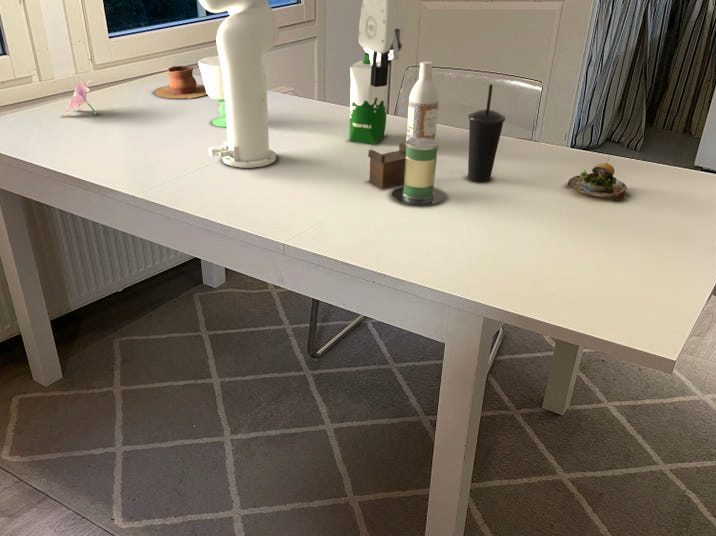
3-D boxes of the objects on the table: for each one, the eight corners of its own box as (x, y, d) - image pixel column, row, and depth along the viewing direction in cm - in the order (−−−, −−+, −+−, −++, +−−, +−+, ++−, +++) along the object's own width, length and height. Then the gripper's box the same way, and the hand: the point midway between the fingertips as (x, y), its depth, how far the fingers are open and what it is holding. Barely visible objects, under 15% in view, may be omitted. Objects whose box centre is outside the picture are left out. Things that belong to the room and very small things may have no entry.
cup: (264, 120, 196) (261, 59, 187) (233, 132, 187) (228, 68, 178) (225, 112, 202) (220, 53, 193) (193, 124, 193) (187, 62, 184)
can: (407, 213, 149) (438, 178, 138) (380, 167, 151) (408, 128, 140) (430, 206, 152) (462, 171, 141) (403, 161, 154) (432, 122, 143)
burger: (555, 186, 154) (561, 152, 149) (598, 179, 157) (606, 145, 153) (593, 206, 144) (601, 170, 140) (638, 197, 148) (647, 162, 144)
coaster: (412, 210, 143) (412, 208, 143) (381, 193, 151) (381, 191, 151) (455, 199, 148) (455, 198, 147) (422, 183, 155) (422, 182, 155)
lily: (99, 109, 209) (77, 80, 204) (117, 100, 200) (95, 69, 195) (70, 132, 203) (47, 102, 198) (87, 123, 194) (64, 91, 190)
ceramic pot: (146, 97, 216) (142, 73, 212) (165, 83, 231) (163, 60, 227) (202, 100, 214) (200, 75, 210) (219, 86, 228) (217, 62, 224)
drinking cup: (498, 175, 160) (512, 82, 148) (493, 186, 154) (507, 90, 142) (464, 171, 162) (475, 79, 150) (458, 182, 156) (469, 87, 144)
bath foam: (418, 154, 172) (424, 66, 160) (400, 147, 176) (405, 61, 165) (439, 149, 175) (447, 63, 163) (421, 142, 179) (428, 58, 168)
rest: (380, 189, 152) (381, 156, 148) (367, 182, 156) (368, 149, 152) (413, 181, 156) (416, 149, 152) (400, 175, 160) (402, 143, 156)
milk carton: (388, 135, 184) (393, 53, 173) (377, 146, 177) (381, 60, 166) (356, 132, 187) (359, 50, 175) (344, 142, 180) (346, 57, 168)
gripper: (348, -17, 142) (344, 79, 153) (391, -6, 132) (384, 96, 142) (379, -18, 146) (373, 76, 156) (423, -8, 135) (414, 92, 145)
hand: (378, 85), depth 149 cm, fingers closed
